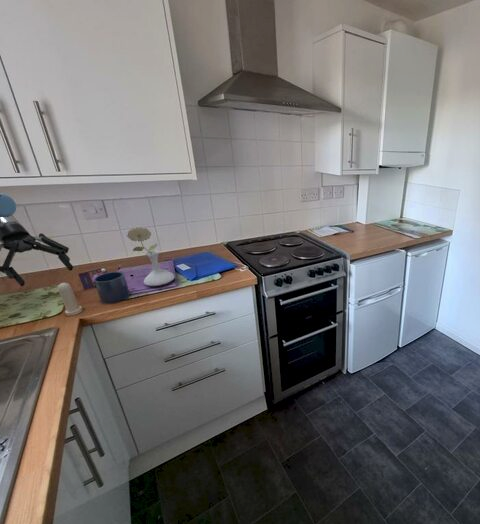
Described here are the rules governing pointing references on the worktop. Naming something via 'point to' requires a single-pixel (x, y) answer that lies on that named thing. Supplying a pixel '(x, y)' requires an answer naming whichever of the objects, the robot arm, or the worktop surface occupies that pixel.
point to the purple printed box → (86, 277)
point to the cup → (112, 287)
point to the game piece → (69, 299)
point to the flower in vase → (157, 274)
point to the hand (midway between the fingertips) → (48, 276)
